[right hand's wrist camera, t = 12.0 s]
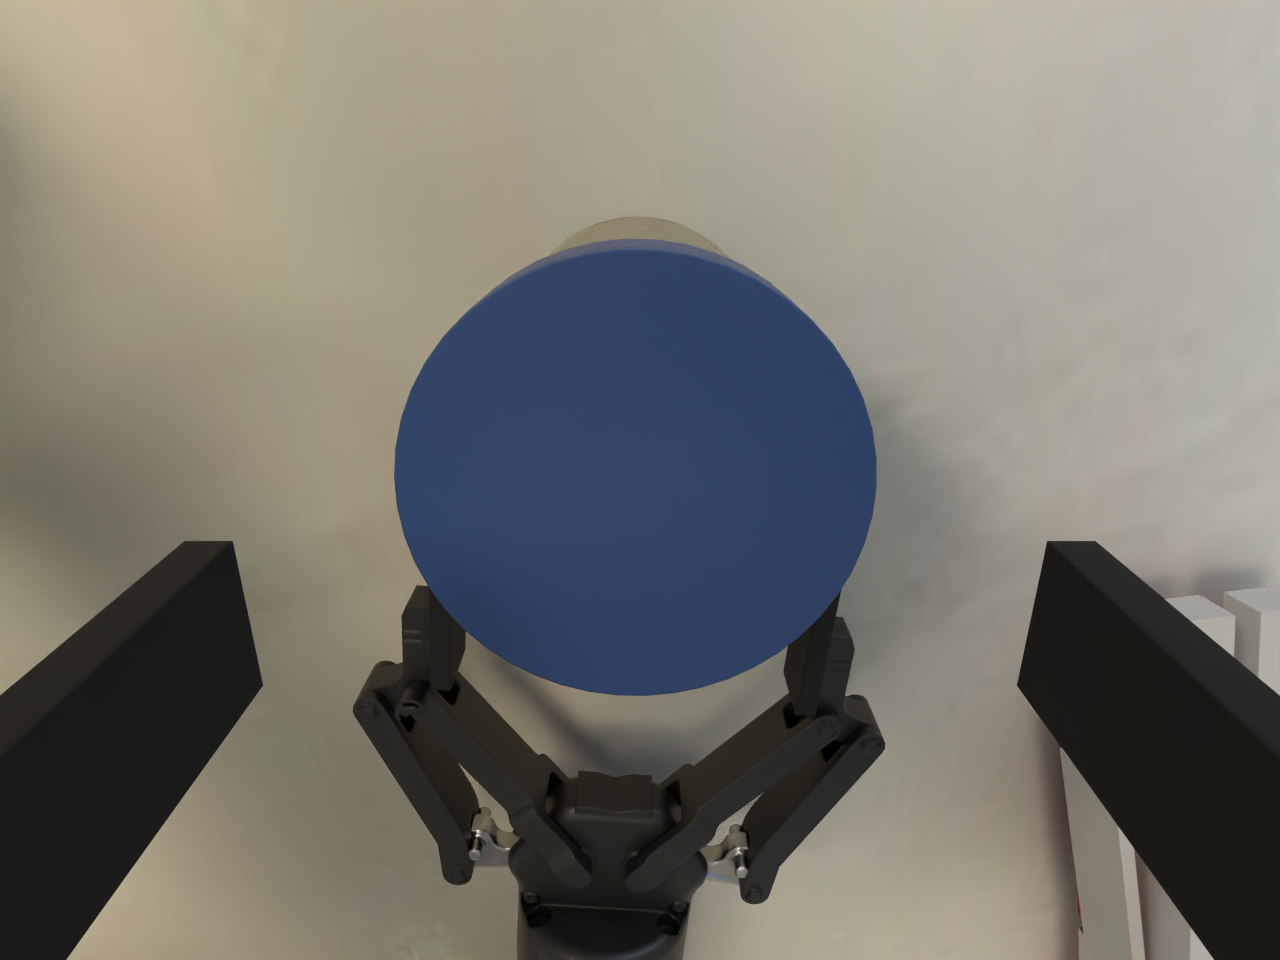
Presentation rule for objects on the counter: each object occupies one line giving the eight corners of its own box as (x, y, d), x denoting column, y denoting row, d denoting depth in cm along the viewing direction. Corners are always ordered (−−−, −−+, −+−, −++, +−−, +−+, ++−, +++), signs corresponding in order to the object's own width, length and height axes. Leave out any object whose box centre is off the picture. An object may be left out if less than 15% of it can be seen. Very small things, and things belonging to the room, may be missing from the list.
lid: (865, 611, 21) (891, 662, 19) (480, 669, 22) (463, 724, 20) (831, 197, 17) (858, 203, 15) (365, 283, 18) (328, 300, 16)
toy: (1532, 648, 26) (1444, 1302, 33) (1244, 526, 39) (1225, 1016, 46) (1154, 690, 27) (1146, 1322, 34) (994, 557, 40) (1012, 1035, 47)
